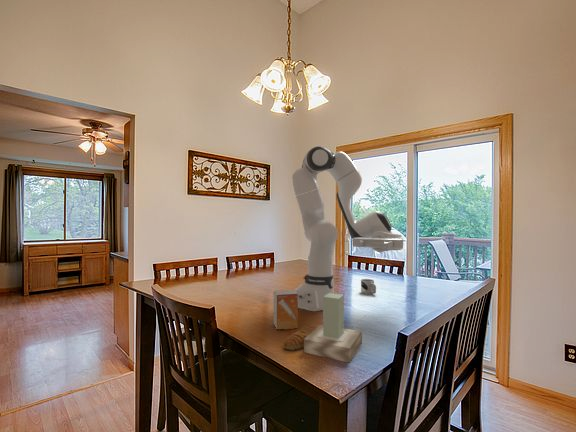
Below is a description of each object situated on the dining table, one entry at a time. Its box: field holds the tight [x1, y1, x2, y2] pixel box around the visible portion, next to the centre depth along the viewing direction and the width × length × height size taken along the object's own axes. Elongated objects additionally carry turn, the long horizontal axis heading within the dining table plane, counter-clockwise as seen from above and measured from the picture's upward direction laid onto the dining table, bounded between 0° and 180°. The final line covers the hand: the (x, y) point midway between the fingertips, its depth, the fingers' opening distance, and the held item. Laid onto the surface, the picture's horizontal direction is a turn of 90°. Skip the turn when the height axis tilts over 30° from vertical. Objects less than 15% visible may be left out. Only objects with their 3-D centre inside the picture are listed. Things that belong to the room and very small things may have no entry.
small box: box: [273, 289, 299, 330], centre depth 112 cm, size 8×6×13 cm
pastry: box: [283, 329, 309, 351], centre depth 96 cm, size 9×7×4 cm
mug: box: [360, 278, 377, 295], centre depth 159 cm, size 10×7×7 cm, turn 22°
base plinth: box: [303, 323, 363, 363], centre depth 94 cm, size 14×14×4 cm
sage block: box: [322, 292, 345, 338], centre depth 94 cm, size 5×5×12 cm
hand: (373, 244), depth 118 cm, fingers open, 8 cm apart
